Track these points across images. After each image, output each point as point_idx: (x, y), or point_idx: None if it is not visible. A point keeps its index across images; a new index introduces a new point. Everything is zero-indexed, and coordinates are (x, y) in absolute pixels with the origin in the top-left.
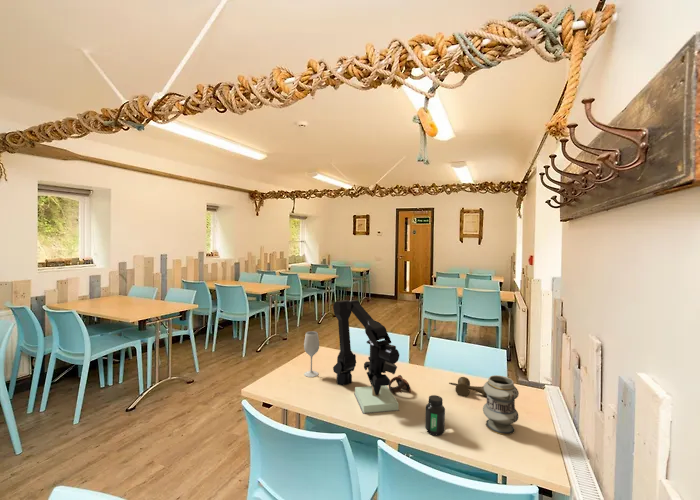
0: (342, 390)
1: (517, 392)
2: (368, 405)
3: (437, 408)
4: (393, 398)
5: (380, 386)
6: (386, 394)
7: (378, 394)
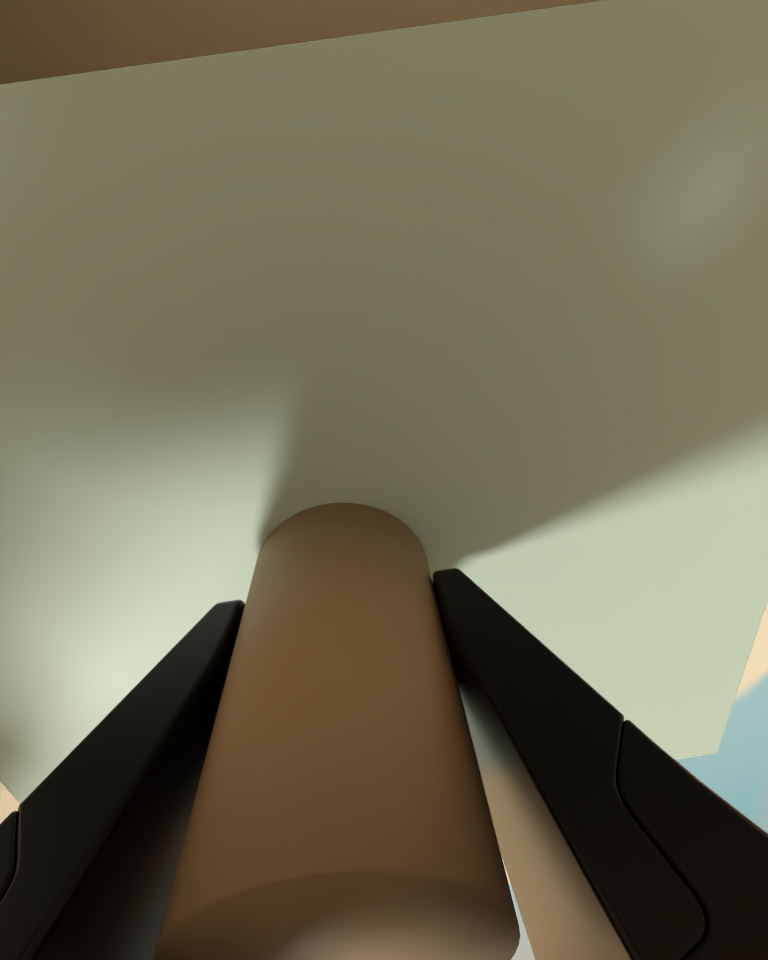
0: (4, 812)
1: None
2: (730, 702)
3: None
4: (619, 89)
5: (715, 816)
6: (324, 301)
7: (414, 550)
